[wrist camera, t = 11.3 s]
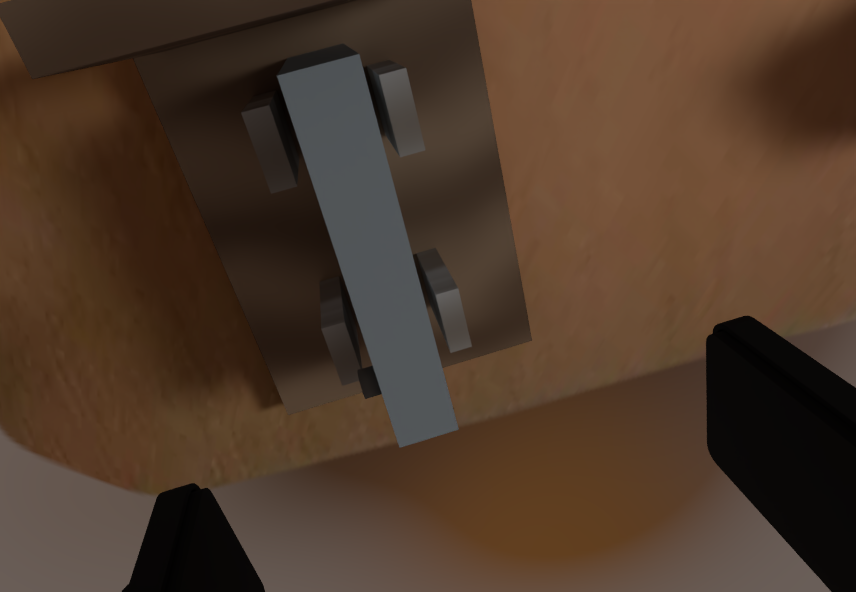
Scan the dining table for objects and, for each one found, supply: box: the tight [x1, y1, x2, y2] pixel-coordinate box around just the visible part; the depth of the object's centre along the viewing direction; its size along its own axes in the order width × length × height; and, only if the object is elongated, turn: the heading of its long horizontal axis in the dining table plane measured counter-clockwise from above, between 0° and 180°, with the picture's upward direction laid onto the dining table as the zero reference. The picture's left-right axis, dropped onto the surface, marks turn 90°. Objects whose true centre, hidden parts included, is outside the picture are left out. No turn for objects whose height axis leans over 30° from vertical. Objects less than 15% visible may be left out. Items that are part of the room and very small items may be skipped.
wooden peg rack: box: [0, 0, 532, 415], centre depth 23 cm, size 20×14×14 cm
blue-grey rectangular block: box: [277, 43, 458, 447], centre depth 24 cm, size 14×3×9 cm, turn 13°
